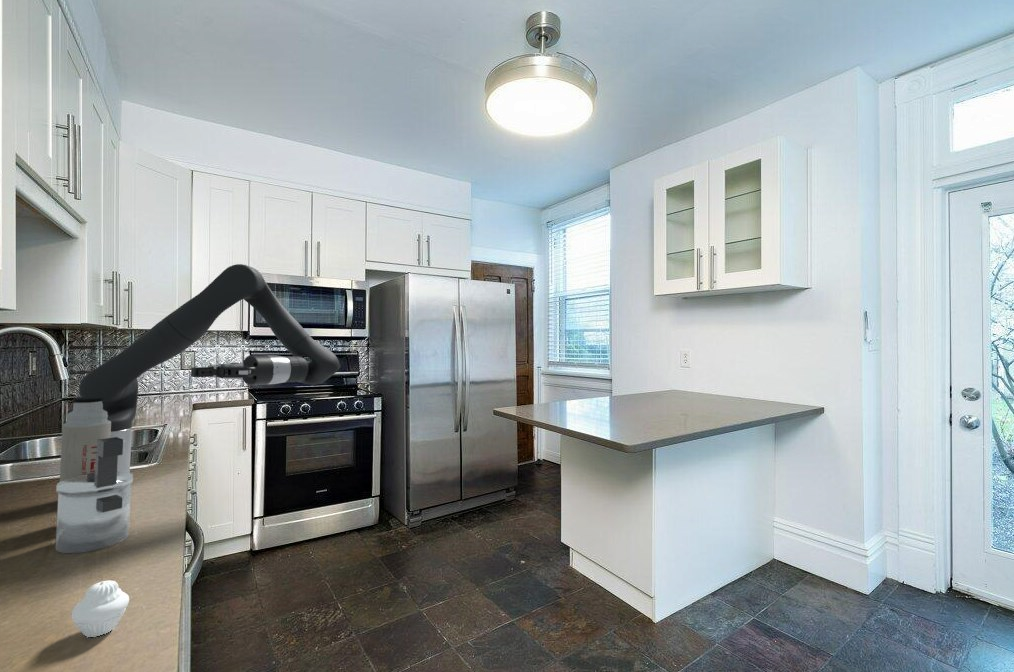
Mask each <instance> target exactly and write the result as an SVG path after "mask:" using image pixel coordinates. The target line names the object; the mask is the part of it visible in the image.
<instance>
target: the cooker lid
mask: <svg viewBox="0 0 1014 672" xmlns="http://www.w3.org/2000/svg"><path fill="white" fill-rule="evenodd" d="M118 455H123V439H121V438H118V437H113V438H105V439H97V454H96V458H95V472H94V473H89V474H87V475H81V476H77V477H73V478H69V479H66V480H63V481H61V482H60V481H59V482H58V483H57V484H56V488H55V489H56V491H55V492H56V494H58V493H59V494H64V495H82V494H92V493H99V492H105V491H110V490H114V489H118V488H121V487H124V486H127V485H129V484H131V485H132V483H133V482H134V474H133V473H132V472H130V473H129V472H117V462H118Z"/></svg>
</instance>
